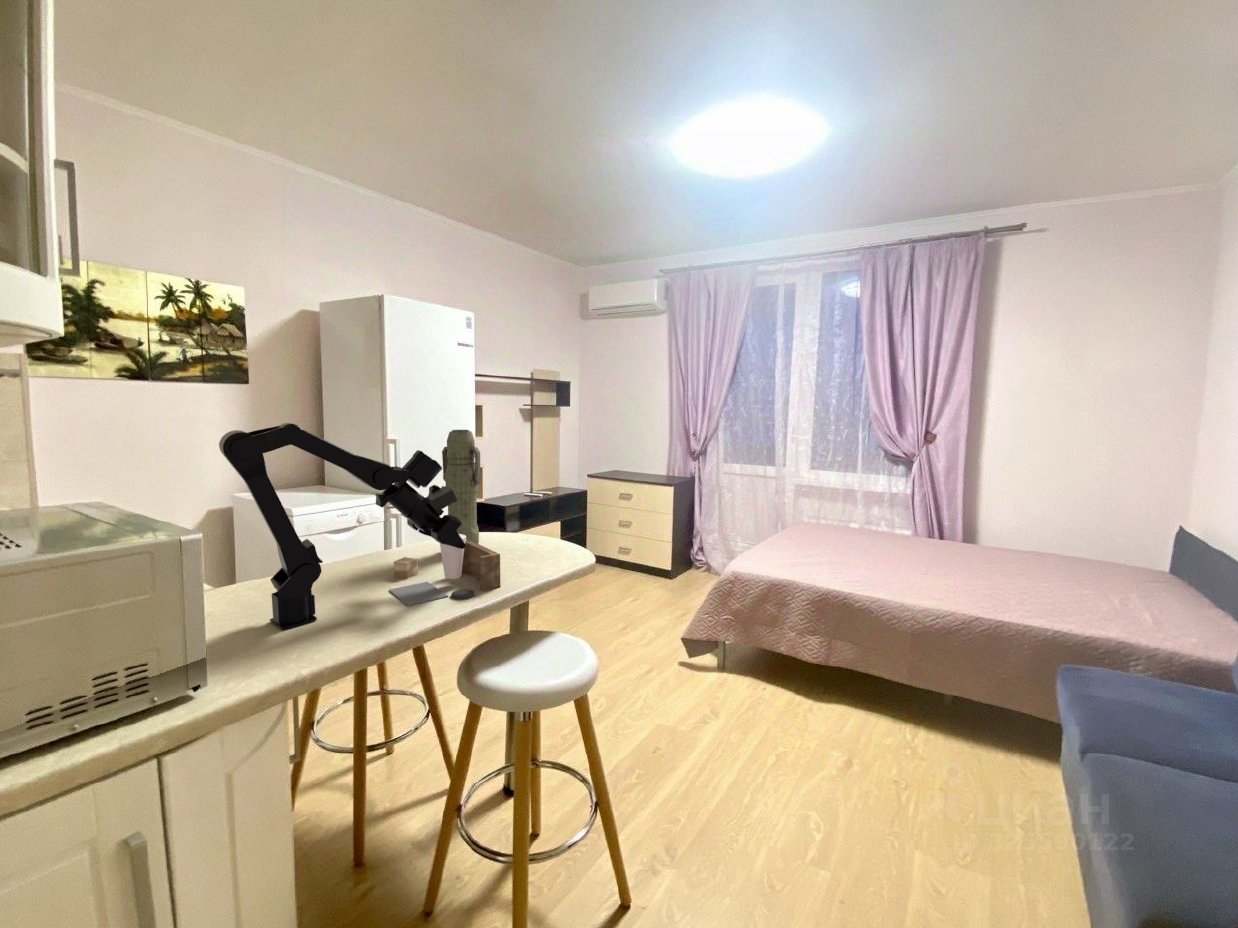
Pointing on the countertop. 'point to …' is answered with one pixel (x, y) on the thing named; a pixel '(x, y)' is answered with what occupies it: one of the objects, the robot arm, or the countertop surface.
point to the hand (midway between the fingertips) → (457, 544)
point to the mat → (418, 593)
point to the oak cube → (405, 567)
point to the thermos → (463, 480)
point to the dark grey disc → (462, 594)
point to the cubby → (481, 565)
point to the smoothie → (452, 559)
